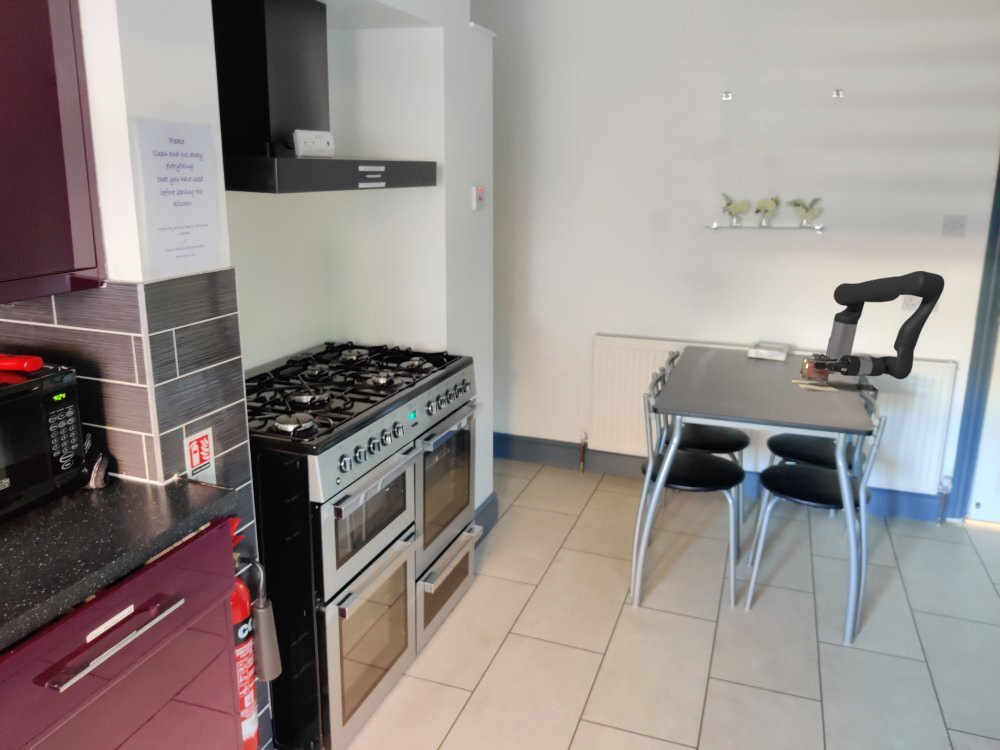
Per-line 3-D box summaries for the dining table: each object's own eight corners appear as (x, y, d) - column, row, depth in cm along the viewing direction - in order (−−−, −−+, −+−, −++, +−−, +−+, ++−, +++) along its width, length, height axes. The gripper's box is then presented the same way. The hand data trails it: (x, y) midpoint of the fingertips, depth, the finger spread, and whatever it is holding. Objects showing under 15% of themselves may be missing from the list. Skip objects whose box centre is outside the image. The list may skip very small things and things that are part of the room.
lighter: (826, 379, 301) (831, 353, 298) (829, 382, 297) (834, 355, 295) (804, 377, 301) (808, 351, 298) (806, 380, 298) (811, 353, 295)
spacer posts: (790, 370, 321) (793, 355, 319) (823, 372, 323) (826, 357, 321) (804, 378, 310) (807, 363, 309) (838, 380, 312) (841, 365, 311)
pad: (791, 381, 305) (791, 379, 305) (821, 382, 307) (821, 381, 306) (807, 390, 293) (807, 389, 293) (838, 392, 295) (838, 390, 295)
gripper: (847, 351, 306) (804, 349, 303) (868, 360, 292) (823, 358, 289) (843, 370, 308) (800, 368, 305) (864, 381, 294) (820, 379, 291)
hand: (812, 363), depth 297 cm, fingers closed on lighter, 3 cm apart
